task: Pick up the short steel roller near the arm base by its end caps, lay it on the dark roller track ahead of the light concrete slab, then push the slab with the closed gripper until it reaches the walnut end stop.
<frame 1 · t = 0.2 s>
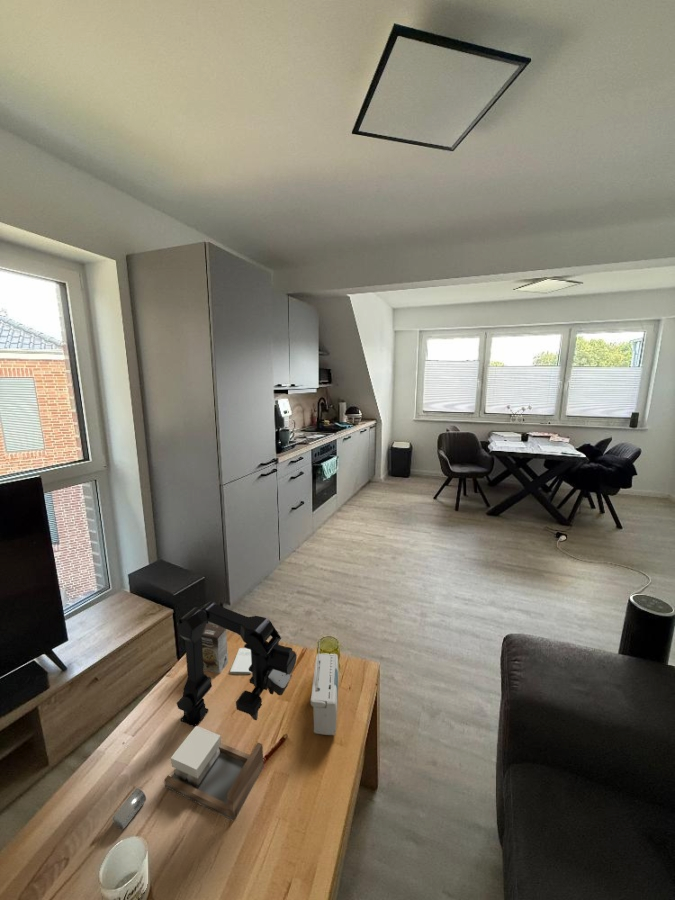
hand: (263, 706, 108), 15 cm above the table, fingers open, 9 cm apart
coffee box: (214, 666, 141), on the table
stereo radio cassette player: (326, 708, 123), on the table
external hard drive: (244, 663, 144), on the table
roller track: (215, 776, 102), on the table
slab: (196, 750, 103), point 7 cm above the table, slide at 0.0 cm
loose roller: (130, 814, 93), on the table
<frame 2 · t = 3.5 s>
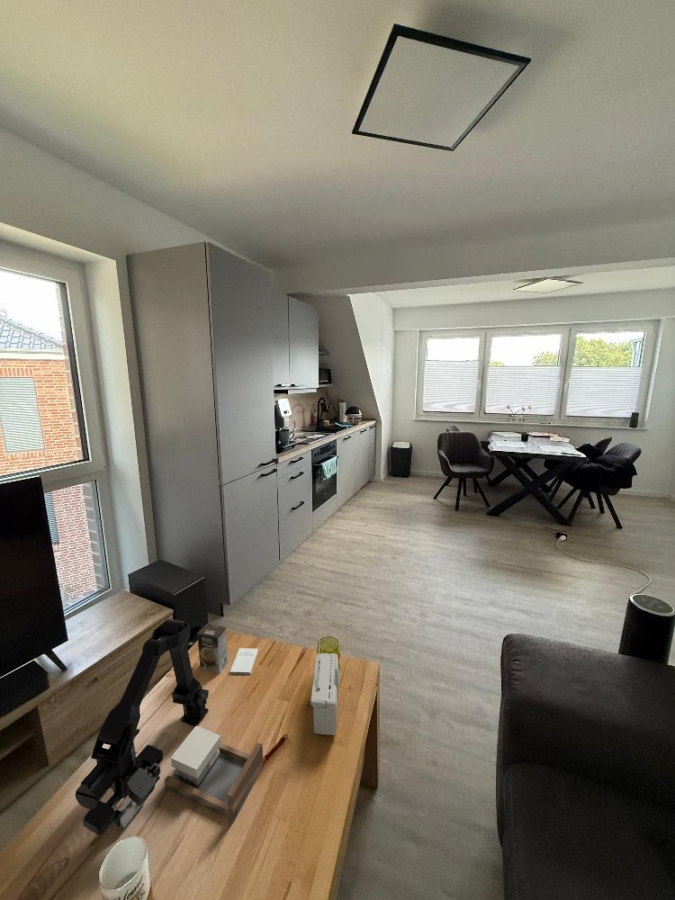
hand: (130, 810, 93), 1 cm above the table, fingers closed on loose roller, 6 cm apart
loose roller: (130, 814, 93), on the table, touching gripper
everything else where it was.
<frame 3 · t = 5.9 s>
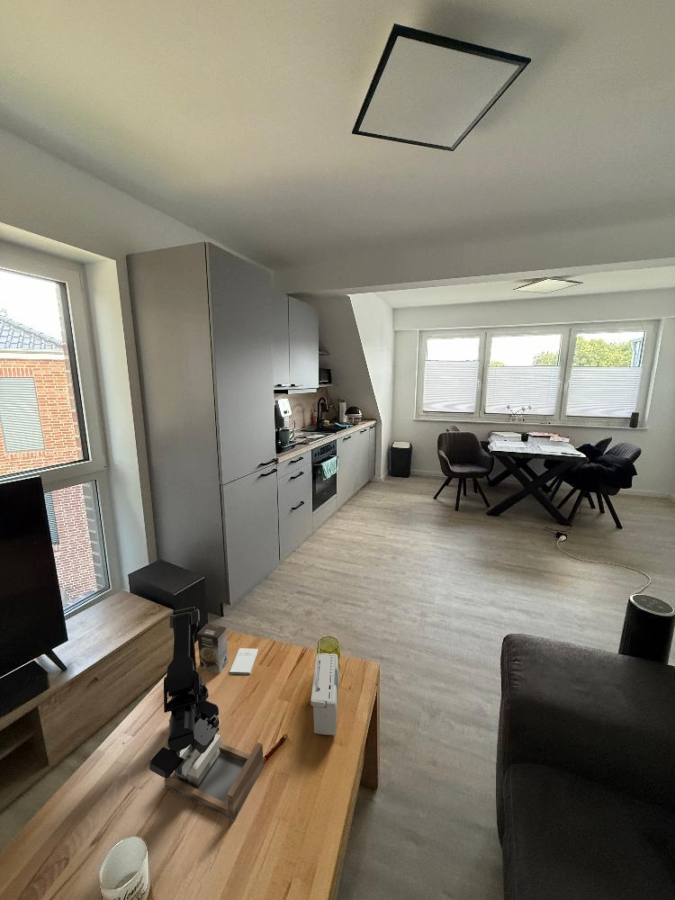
hand: (189, 761, 96), 11 cm above the table, fingers closed on loose roller, 6 cm apart
loose roller: (189, 764, 96), point 10 cm above the table, touching gripper
everything else where it was.
when the fingers open (3 cm above the table, at t = 8.6 s): loose roller stays where it is, resting on roller track.
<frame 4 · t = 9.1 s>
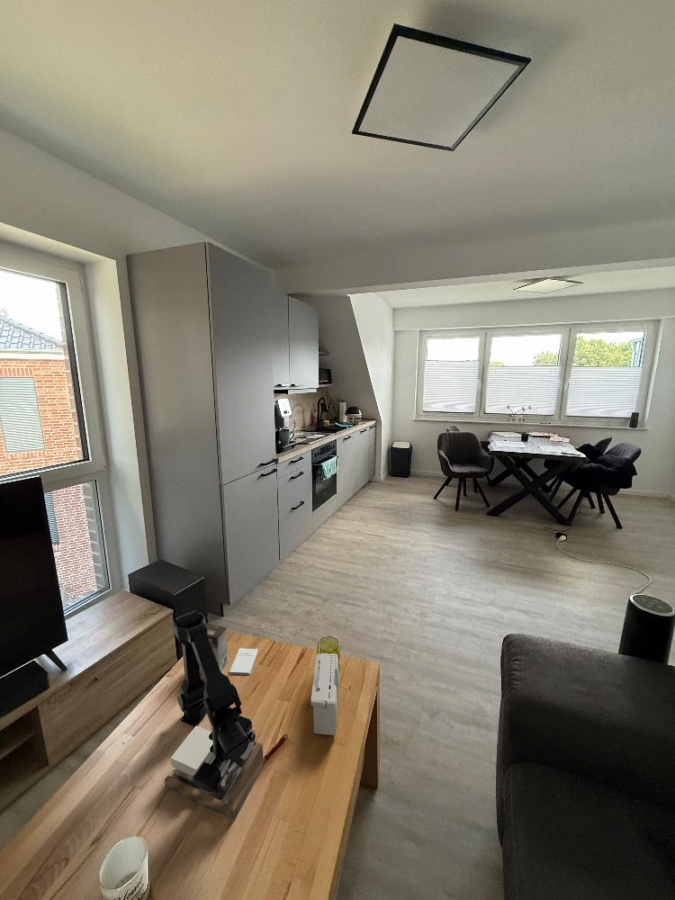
hand: (226, 774, 100), 3 cm above the table, fingers open, 9 cm apart
loose roller: (227, 780, 100), point 1 cm above the table, touching roller track
everything else where it was.
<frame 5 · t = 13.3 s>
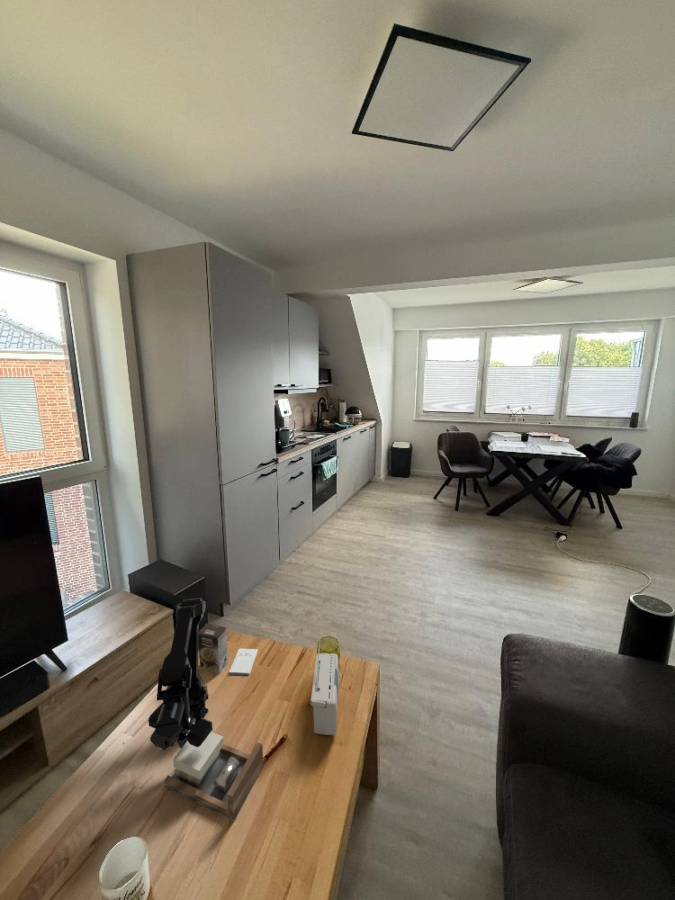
hand: (182, 747, 104), 6 cm above the table, fingers closed
slab: (199, 751, 102), point 7 cm above the table, slide at 0.9 cm, touching gripper
everything else where it was.
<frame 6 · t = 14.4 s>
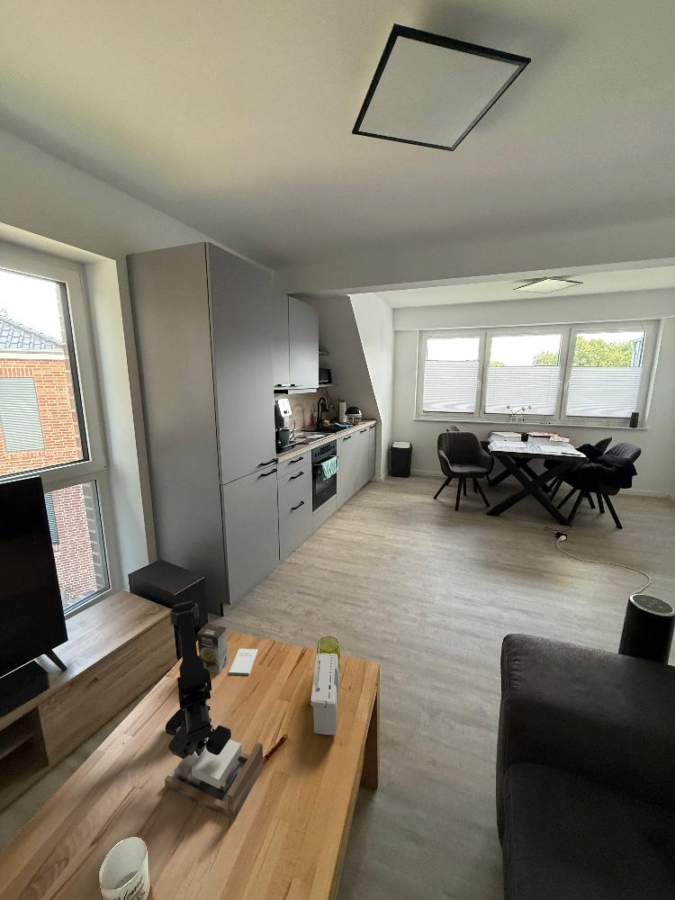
hand: (200, 754, 102), 6 cm above the table, fingers closed
slab: (217, 759, 100), point 7 cm above the table, slide at 7.2 cm, touching gripper
everything else where it was.
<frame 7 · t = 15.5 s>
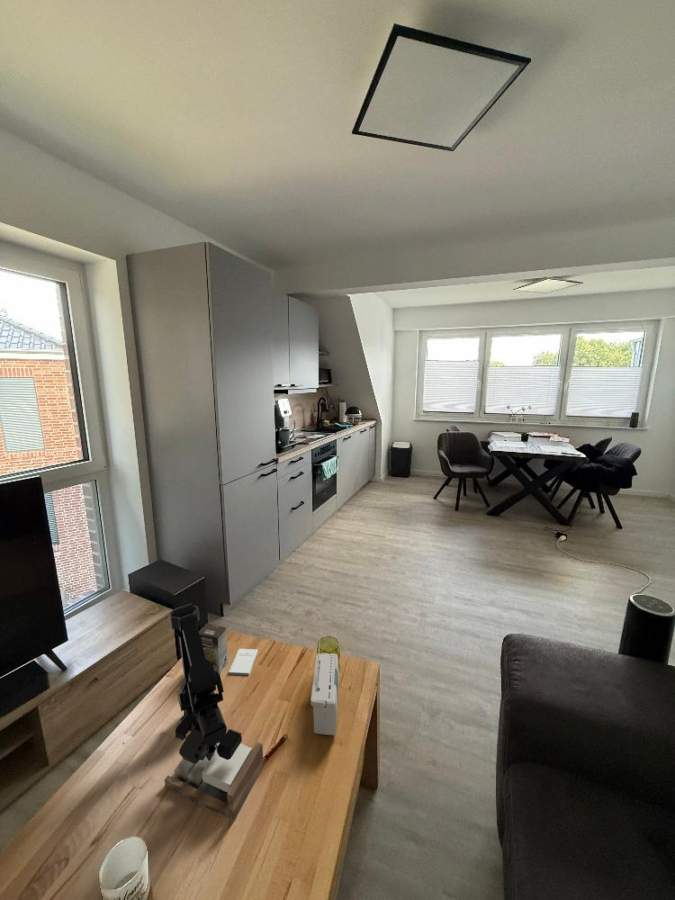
hand: (210, 759, 101), 6 cm above the table, fingers closed
slab: (228, 764, 99), point 7 cm above the table, slide at 10.8 cm, touching gripper
everything else where it was.
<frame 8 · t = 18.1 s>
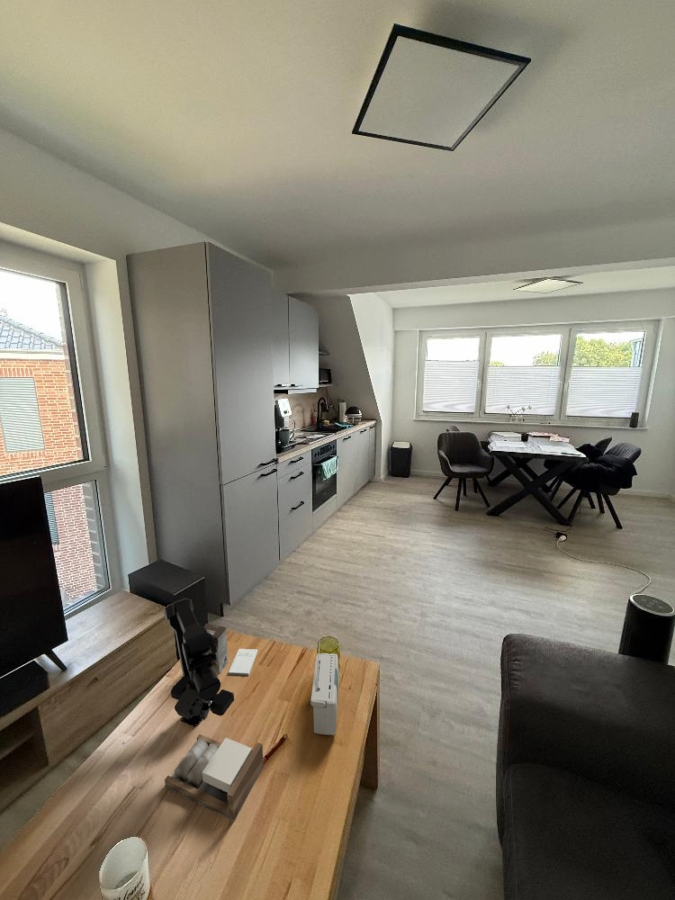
hand: (204, 718, 106), 12 cm above the table, fingers closed
slab: (228, 764, 99), point 7 cm above the table, slide at 10.8 cm
everything else where it was.
at the end: slab slide at 10.8 cm; loose roller inside the target area (0.5 cm from its centre), point 0.6 cm above the table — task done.
